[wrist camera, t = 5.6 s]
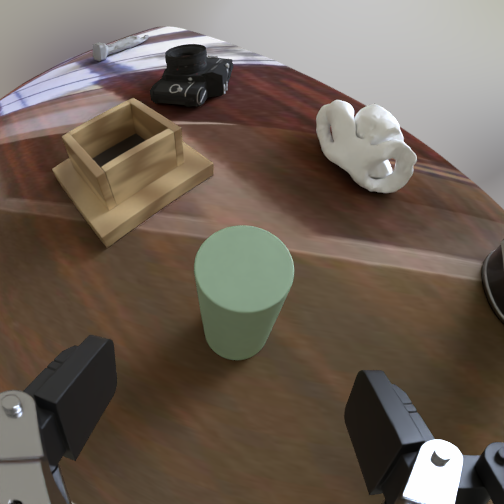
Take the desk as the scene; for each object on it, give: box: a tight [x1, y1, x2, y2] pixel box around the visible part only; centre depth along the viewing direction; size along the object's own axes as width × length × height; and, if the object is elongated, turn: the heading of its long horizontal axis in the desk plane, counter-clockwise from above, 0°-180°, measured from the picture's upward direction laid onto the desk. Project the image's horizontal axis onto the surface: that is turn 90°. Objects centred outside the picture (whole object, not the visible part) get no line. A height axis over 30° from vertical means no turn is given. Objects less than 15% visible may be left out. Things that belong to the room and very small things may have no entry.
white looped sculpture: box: [316, 100, 417, 193], centre depth 30 cm, size 9×12×8 cm
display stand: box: [52, 98, 213, 248], centre depth 26 cm, size 12×12×6 cm
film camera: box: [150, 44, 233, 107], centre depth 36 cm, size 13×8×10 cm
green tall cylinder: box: [194, 226, 294, 360], centre depth 17 cm, size 4×4×9 cm
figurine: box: [93, 35, 149, 61], centre depth 46 cm, size 4×12×4 cm, turn 142°
